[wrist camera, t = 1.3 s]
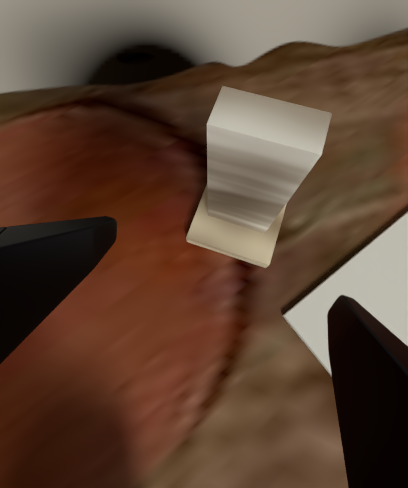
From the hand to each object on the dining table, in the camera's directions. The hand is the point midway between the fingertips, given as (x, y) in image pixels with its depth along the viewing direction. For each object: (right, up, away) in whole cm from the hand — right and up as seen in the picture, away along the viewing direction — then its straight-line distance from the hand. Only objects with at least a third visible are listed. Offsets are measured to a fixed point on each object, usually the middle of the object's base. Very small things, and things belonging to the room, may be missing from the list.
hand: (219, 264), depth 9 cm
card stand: (+3, +3, +15) cm, 15 cm away
